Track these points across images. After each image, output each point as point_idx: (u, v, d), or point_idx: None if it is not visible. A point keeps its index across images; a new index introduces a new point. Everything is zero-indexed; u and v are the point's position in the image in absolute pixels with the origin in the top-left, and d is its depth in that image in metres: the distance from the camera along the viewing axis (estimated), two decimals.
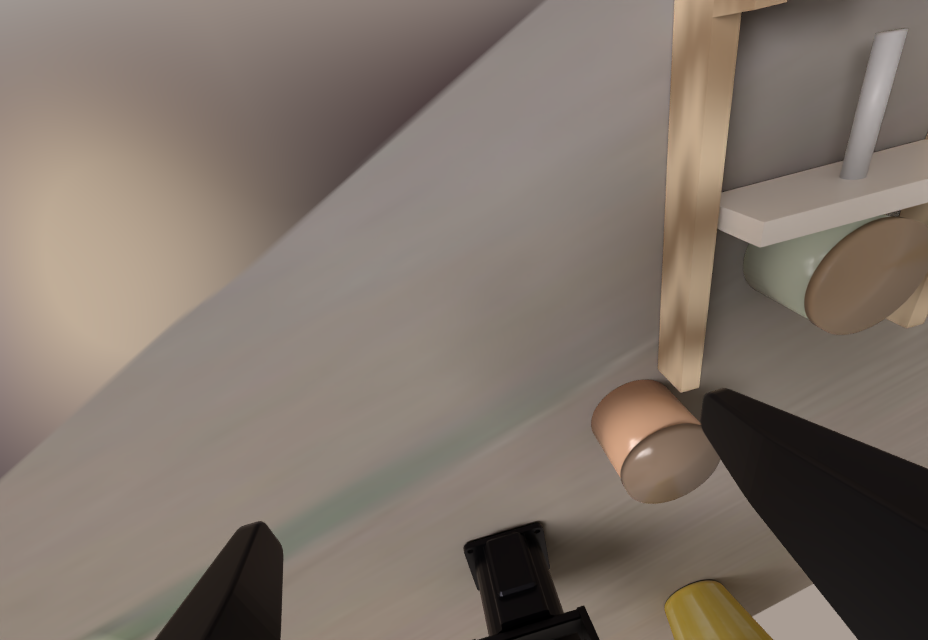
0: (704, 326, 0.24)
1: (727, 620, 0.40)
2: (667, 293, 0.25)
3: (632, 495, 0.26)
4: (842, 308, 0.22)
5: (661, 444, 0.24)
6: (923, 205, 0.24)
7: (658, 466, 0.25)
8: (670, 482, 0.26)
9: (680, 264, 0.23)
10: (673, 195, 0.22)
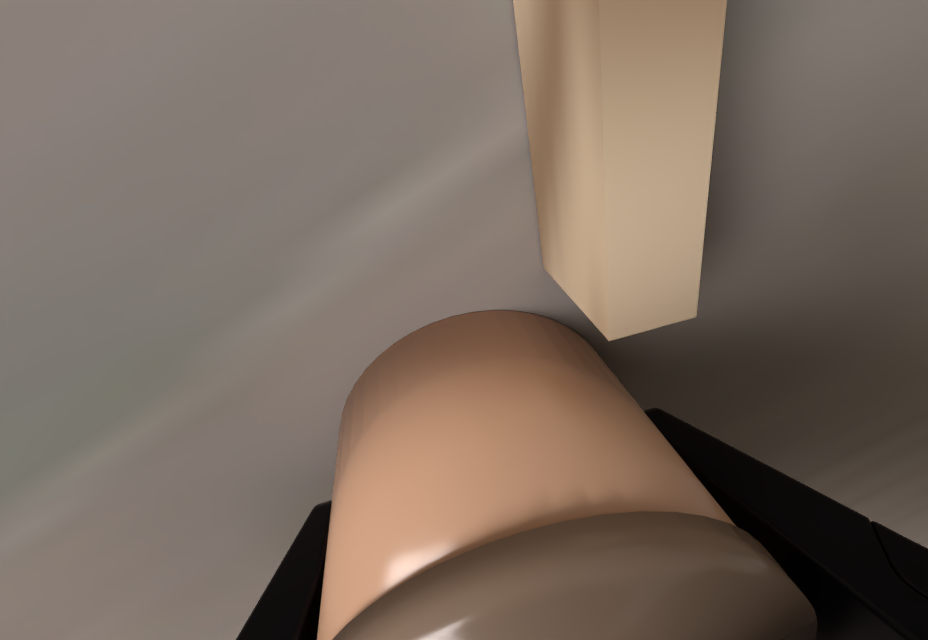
0: None
1: None
2: None
3: None
4: None
5: None
6: None
7: None
8: None
9: None
10: None
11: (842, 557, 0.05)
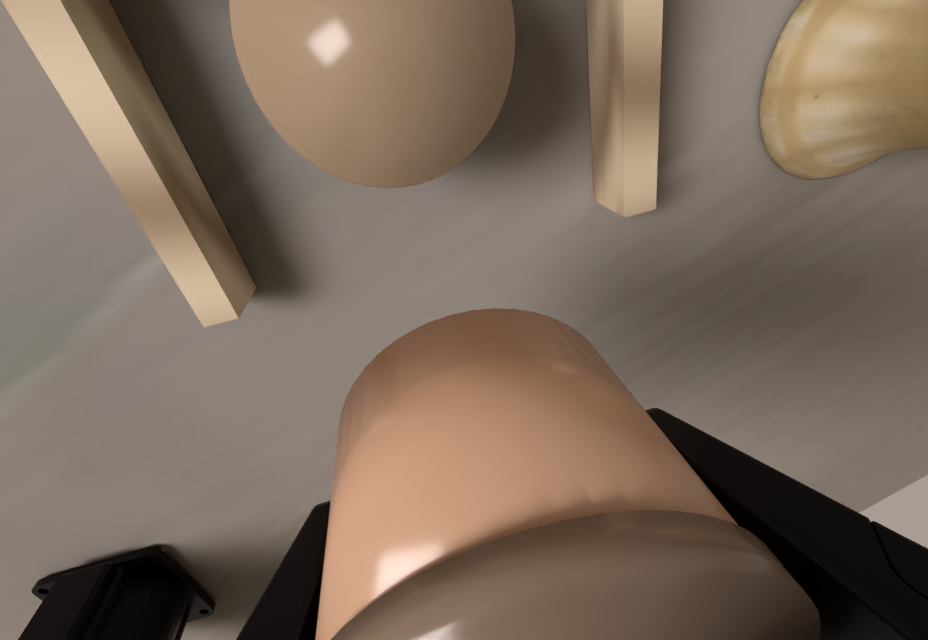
0: (161, 186, 0.12)
1: None
2: None
3: None
4: (340, 117, 0.10)
5: None
6: None
7: None
8: None
9: None
10: None
11: (842, 557, 0.05)
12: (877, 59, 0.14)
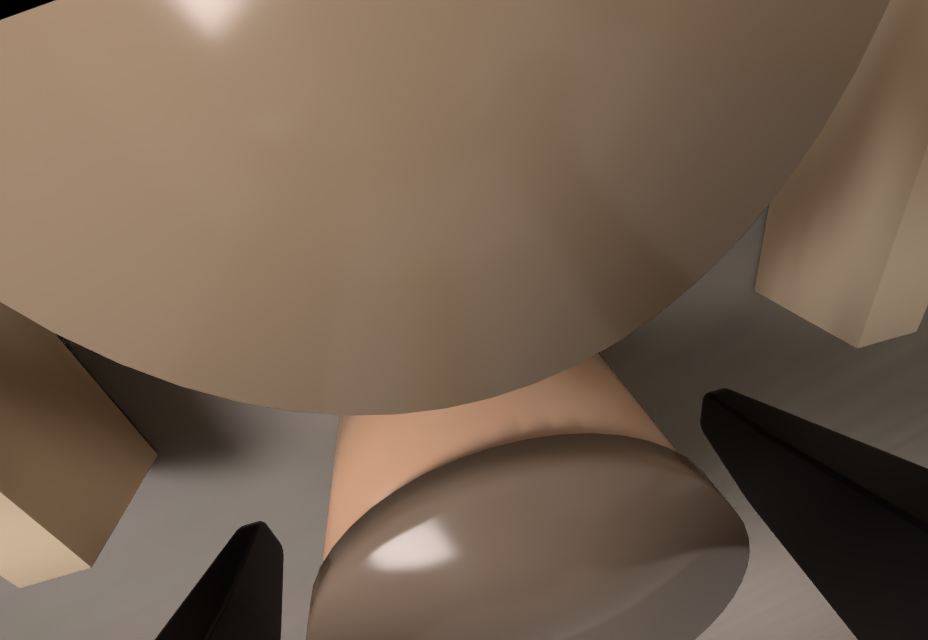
0: None
1: None
2: None
3: None
4: (228, 226, 0.03)
5: (435, 547, 0.05)
6: None
7: (460, 630, 0.06)
8: None
9: None
10: None
11: None
12: None
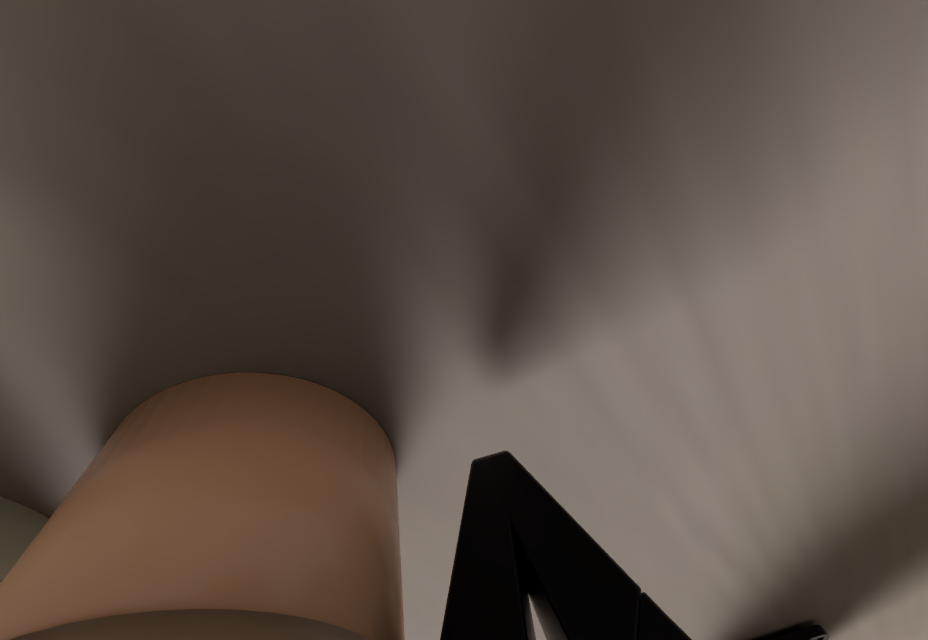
0: None
1: None
2: None
3: None
4: None
5: None
6: None
7: None
8: None
9: None
10: None
11: (596, 634, 0.05)
12: None
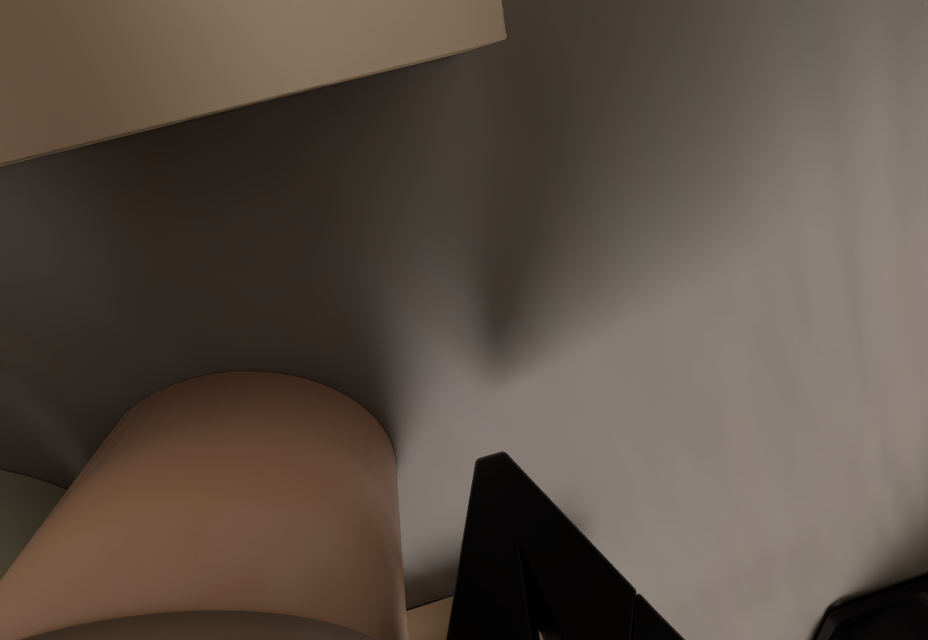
0: None
1: None
2: None
3: None
4: None
5: None
6: None
7: None
8: None
9: None
10: None
11: (591, 636, 0.05)
12: None
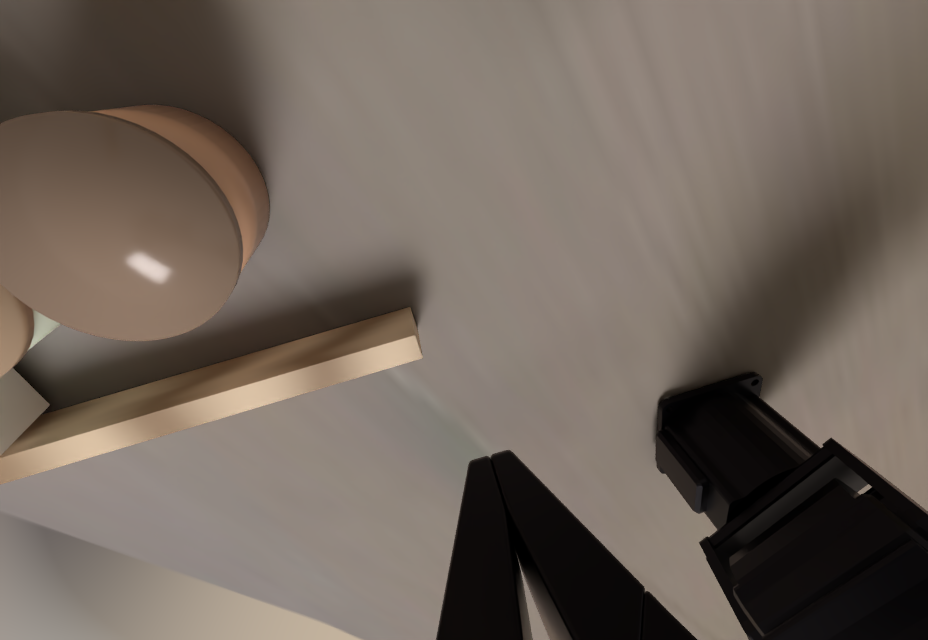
0: (306, 369, 0.17)
1: None
2: None
3: (211, 311, 0.13)
4: None
5: (35, 295, 0.12)
6: None
7: (107, 281, 0.12)
8: (159, 235, 0.11)
9: None
10: None
11: (600, 633, 0.05)
12: None
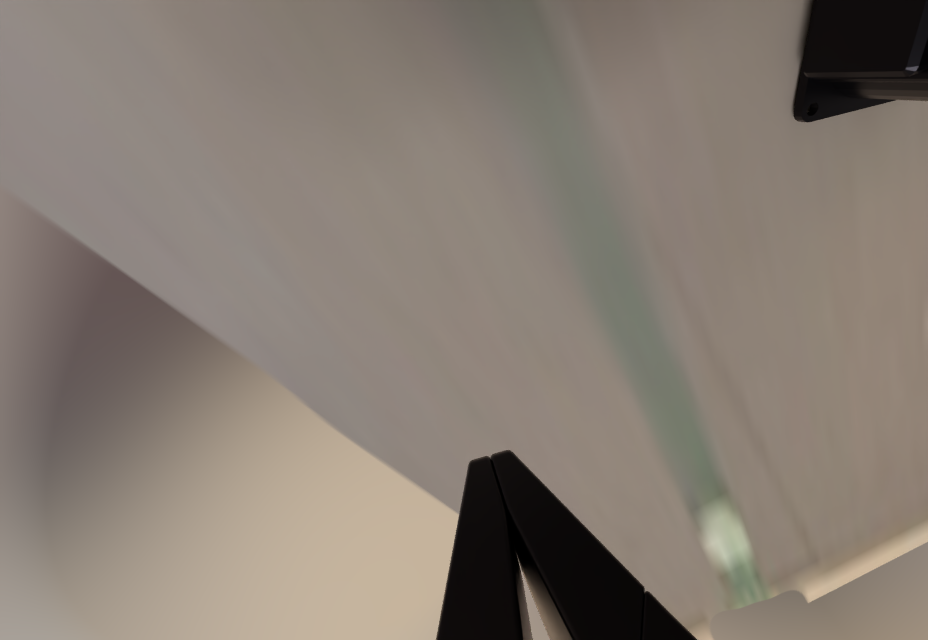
0: None
1: None
2: None
3: None
4: None
5: None
6: None
7: None
8: None
9: None
10: None
11: (600, 633, 0.05)
12: None
